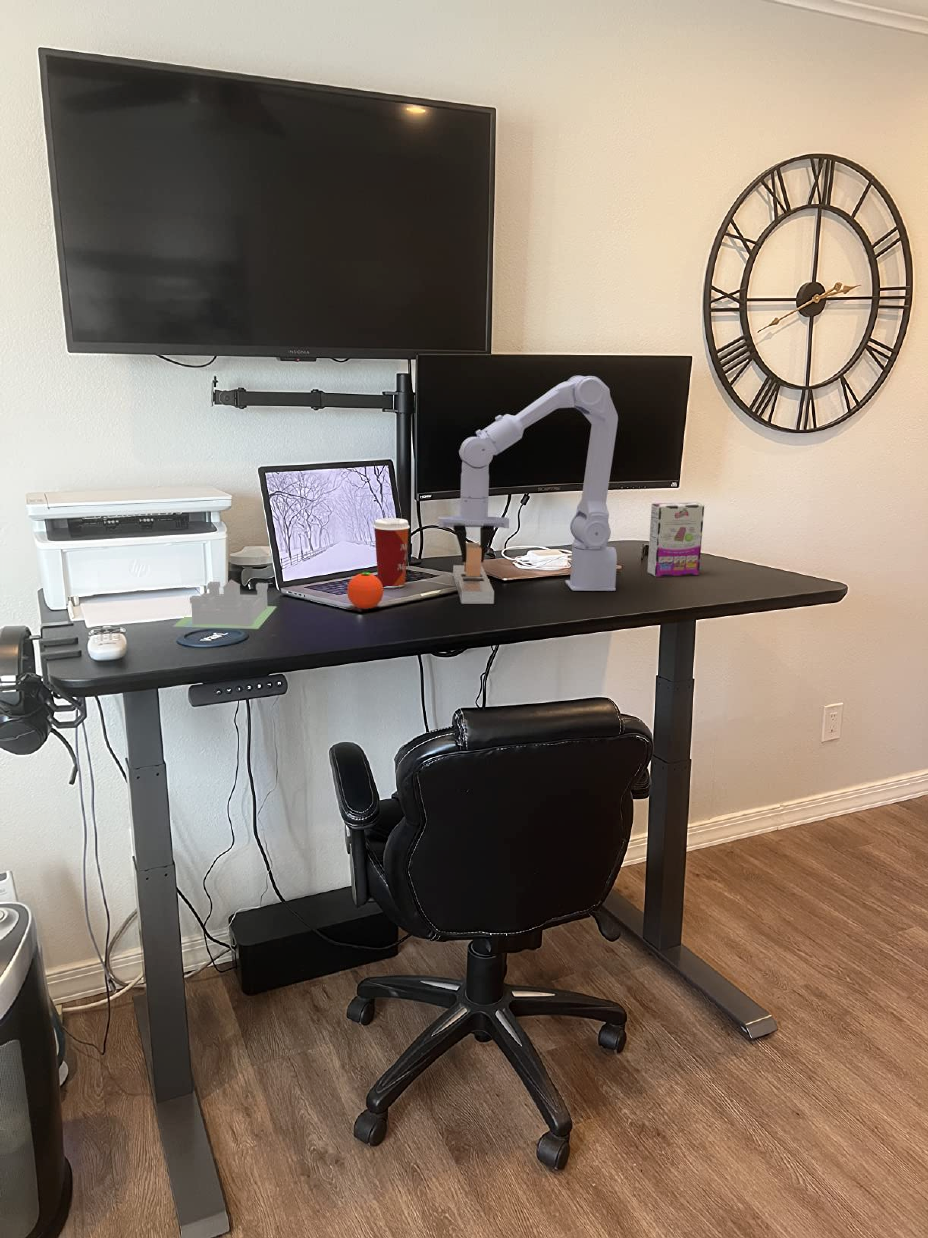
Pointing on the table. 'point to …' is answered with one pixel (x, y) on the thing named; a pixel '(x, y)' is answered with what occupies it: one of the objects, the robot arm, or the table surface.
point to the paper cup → (391, 550)
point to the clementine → (365, 590)
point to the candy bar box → (675, 539)
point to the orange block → (473, 559)
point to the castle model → (228, 608)
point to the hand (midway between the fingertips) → (472, 561)
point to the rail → (473, 587)
